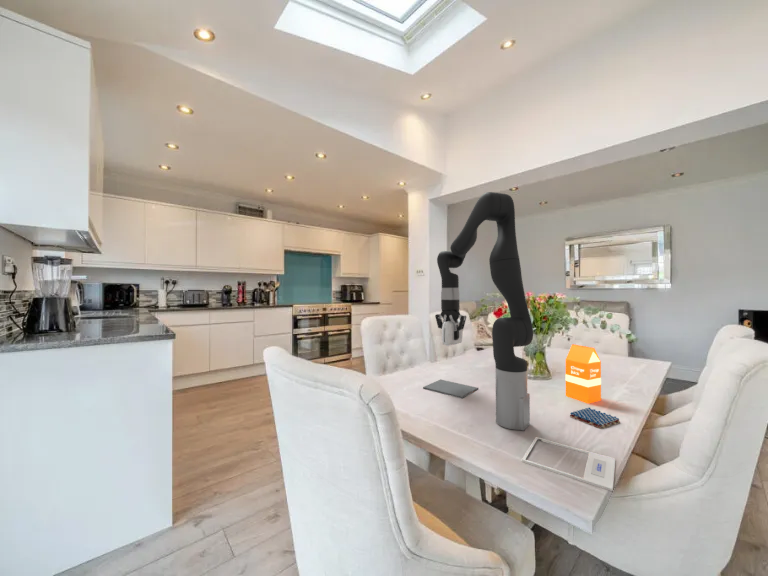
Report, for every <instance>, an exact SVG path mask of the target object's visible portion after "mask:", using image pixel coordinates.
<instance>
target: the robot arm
mask: <svg viewBox="0 0 768 576" xmlns="http://www.w3.org/2000/svg"><path fill="white" fill-rule="evenodd" d="M514 203H515V202H514V200H513V197H512V196H511V195H509V194H506V193H501V192H493V191H486V192H484V193H483V194H482V195H480V197H479V198H478V199H477V201H476V203H475V204H474V206H473V209H472V211H471V212H470V214H469V216H468V218H467V220H466V222H465V224H464V226H463V227H462V229H461V231H460V232H459V234H458V235H457V236H456V238H455V239H454V240H453V241H452V243H451V245H450V247H449V249H450V250H442V251H440V252H439V253H438V255H437V257H436V263H437V266H438V270H439V274H440V277H441V291H440V307H441V309H440V310H441V312H440V313H439V314H437V313H436V314H435V316H434V317H435V321H436V324H437V328H438V329H441V330H442V327H443V323H444V322H447V321H451V322H452V323H453V325H454V340H458V339H459V331H460V330H462V329H463V330H464V328H465V324H466V321H467V315H464V314H463V315H462V314H461V313H460V290H459V289H460V286H459V285H460V283H459V282H460V280H459V279H460V277H459V275H458V274H456V273H453V272H451V270H450V269H457V268H459V267H461V266H462V264H463V263H464V260H465V258H466V256H467V254H468V253H469V251H470V250H471V249H472V248H473V247H474V245H475V243H476V241H477V239H478V228H479V226H480V225H481V224H483V223H484V222H485V221H489V222H490V221H492V222H496V223H495V224H496V227H497V228H496V229H497V237H496V241H495V244H494V245H493V248H492V250H491V252H490V254H489V269H490V276H491V280H492V282H493V284H494V285H495V286H496V289H498V291H499V292H500V294H501V295H502V297H503V298H504V299H505V301H506V303H507V306H508V310H509V316H510V317H499V318H497V319H496V320H495V321H494V322H493V324H492V329H491V330H492V331H491V332H492V333H491V337H492V339H491V340H492V351H493V353H492V354H493V360H494V363H495V423H496V424H497V425H499V426H500V427H502V428H505V429H509V430H515V431H516V430H517V431H518V430H519V431H522V432H523V431H525V430H526V429H527V428H528V426H529V425H531V415H530V414H531V413H530V412H531V411H530V410H531V409H530V408H531V405H530V404H531V403H530V401H531V400H530V399H531V398H530V397H531V396H530V393H528V361H527V360H526V359H524V358H522V357H519V356H517V355H515V349H514V348H517V347H520V348H521V347H528V346H529V345H530V344H531V343H532V342H533V338H534V328H533V323H532V319H531V315H530V311H529V308H528V303H527V300H526V299H527V298H526V295H525V288H524V284H523V276H522V268H521V262H520V256H519V251H518V244H517V243H518V242H517V233H516V213H515V212H516V211H515V204H514ZM458 320H460V323H458ZM455 322H456V323H455Z"/></svg>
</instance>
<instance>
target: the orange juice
mask: <svg viewBox="0 0 768 576" xmlns="http://www.w3.org/2000/svg"><path fill="white" fill-rule="evenodd" d="M565 397H568V398H571V399H573V400H576V401H579V402H582V403H585V404H592V403H596V402H600V401H602V361H601V359H600V357H599V355H598V353H597V350H596V348H595V347H592V346H591V347H589V346H586V345H585V346H584V345H580V344H571V346H570V348H569V351H568V353H567V356H566V358H565Z"/></svg>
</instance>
